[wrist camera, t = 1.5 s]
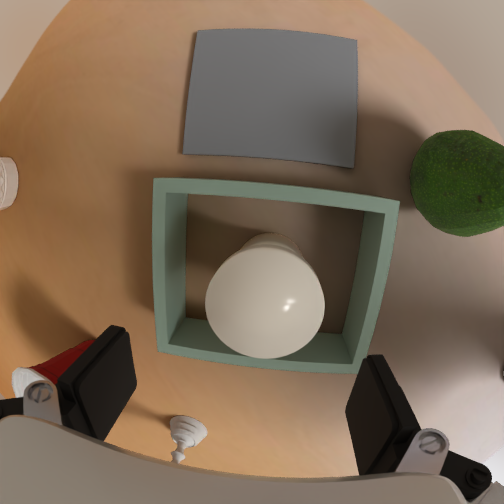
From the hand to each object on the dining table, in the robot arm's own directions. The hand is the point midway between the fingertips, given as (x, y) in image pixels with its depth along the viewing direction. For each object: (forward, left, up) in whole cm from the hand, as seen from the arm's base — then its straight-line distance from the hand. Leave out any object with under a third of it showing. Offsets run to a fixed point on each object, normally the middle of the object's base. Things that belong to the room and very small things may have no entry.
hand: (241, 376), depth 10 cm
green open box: (-1, 0, -15) cm, 15 cm away
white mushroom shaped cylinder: (-1, 0, -15) cm, 15 cm away
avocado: (-14, -9, -15) cm, 23 cm away
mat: (0, -15, -15) cm, 21 cm away
